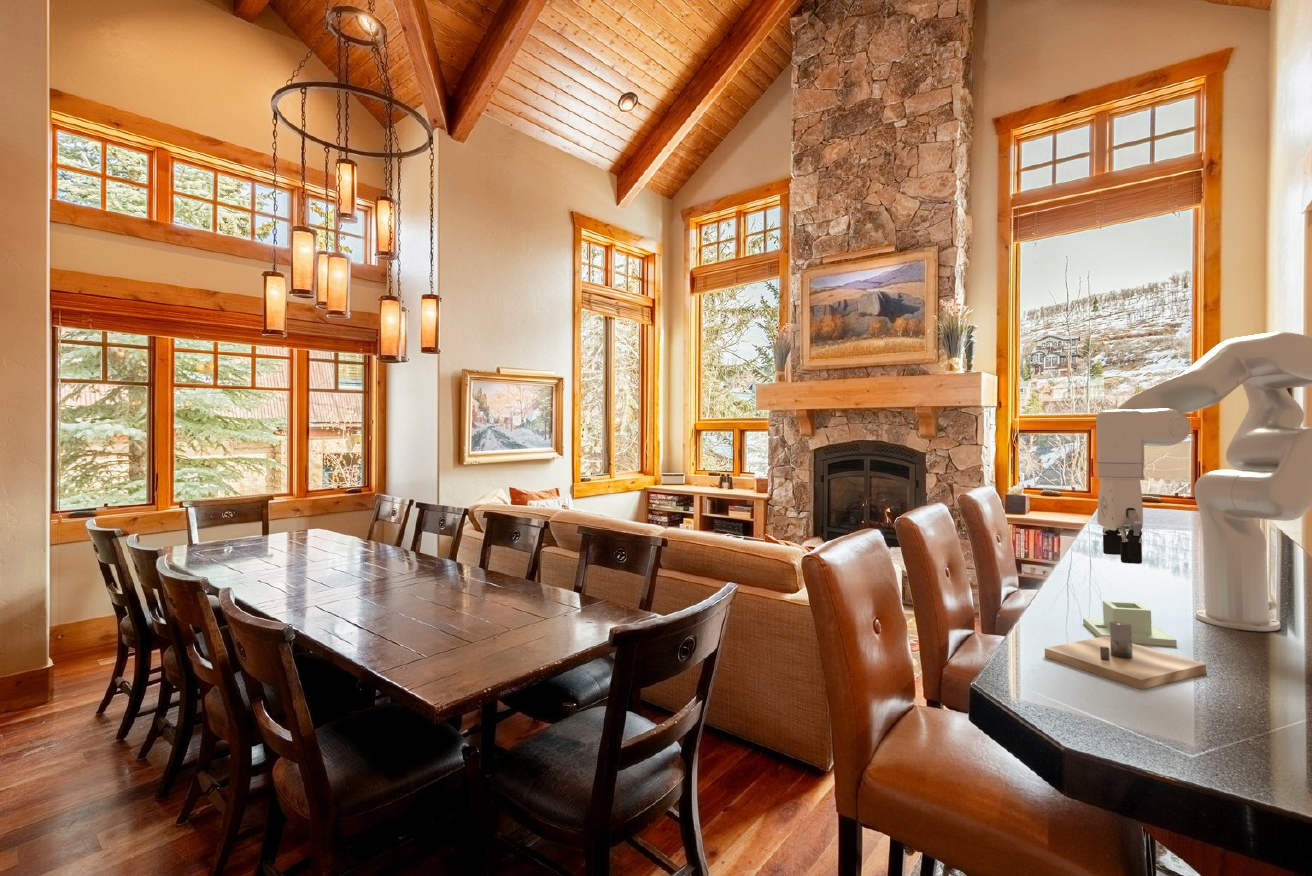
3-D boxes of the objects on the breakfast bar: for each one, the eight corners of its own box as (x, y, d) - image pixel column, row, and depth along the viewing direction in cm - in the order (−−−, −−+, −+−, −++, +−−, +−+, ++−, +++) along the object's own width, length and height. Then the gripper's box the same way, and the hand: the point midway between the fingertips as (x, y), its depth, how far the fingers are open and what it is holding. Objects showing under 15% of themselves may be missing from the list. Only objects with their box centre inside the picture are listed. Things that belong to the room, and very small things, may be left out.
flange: (1150, 627, 123) (1149, 599, 123) (1176, 646, 112) (1175, 615, 112) (1083, 623, 127) (1082, 596, 127) (1102, 641, 116) (1101, 611, 116)
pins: (1118, 651, 107) (1117, 620, 107) (1136, 657, 104) (1135, 625, 104) (1093, 657, 105) (1092, 625, 105) (1111, 662, 102) (1110, 630, 102)
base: (1106, 643, 115) (1105, 636, 115) (1206, 673, 100) (1206, 664, 100) (1044, 656, 110) (1044, 648, 110) (1141, 689, 95) (1140, 679, 95)
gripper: (1084, 470, 129) (1085, 550, 129) (1113, 474, 113) (1114, 565, 113) (1126, 470, 127) (1128, 552, 127) (1162, 474, 111) (1164, 568, 110)
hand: (1121, 558), depth 120 cm, fingers open, 9 cm apart
